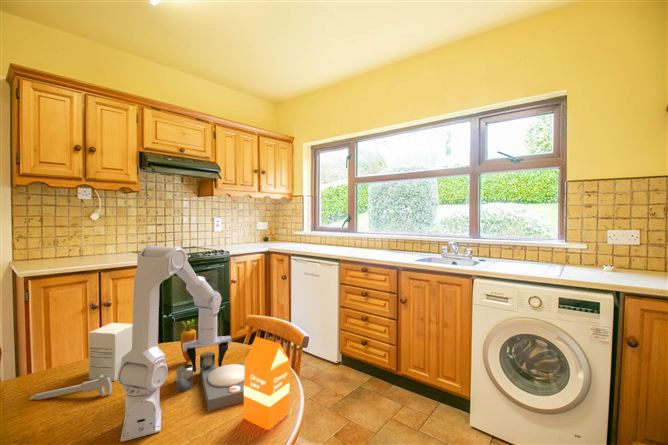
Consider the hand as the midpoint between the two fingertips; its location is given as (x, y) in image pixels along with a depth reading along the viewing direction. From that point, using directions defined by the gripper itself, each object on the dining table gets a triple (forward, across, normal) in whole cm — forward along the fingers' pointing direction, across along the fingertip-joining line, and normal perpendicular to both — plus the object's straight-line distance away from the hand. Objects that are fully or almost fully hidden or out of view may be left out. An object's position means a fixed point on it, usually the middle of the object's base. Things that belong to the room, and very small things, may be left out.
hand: (207, 368), depth 101 cm
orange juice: (+2, -11, +30) cm, 32 cm away
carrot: (+2, +5, -11) cm, 12 cm away
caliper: (+2, +35, -3) cm, 35 cm away
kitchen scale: (+2, -5, +13) cm, 14 cm away
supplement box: (+2, +27, -13) cm, 30 cm away
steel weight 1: (+2, +7, +6) cm, 9 cm away
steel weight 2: (+2, 0, 0) cm, 2 cm away
